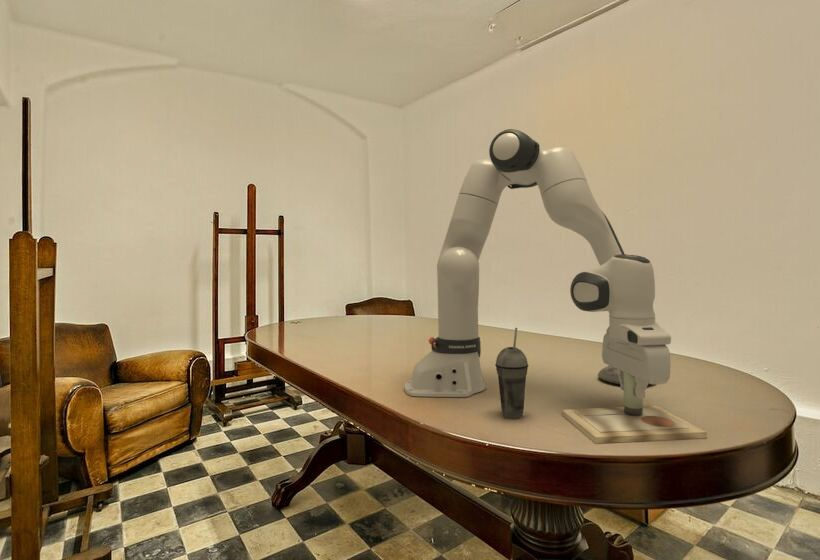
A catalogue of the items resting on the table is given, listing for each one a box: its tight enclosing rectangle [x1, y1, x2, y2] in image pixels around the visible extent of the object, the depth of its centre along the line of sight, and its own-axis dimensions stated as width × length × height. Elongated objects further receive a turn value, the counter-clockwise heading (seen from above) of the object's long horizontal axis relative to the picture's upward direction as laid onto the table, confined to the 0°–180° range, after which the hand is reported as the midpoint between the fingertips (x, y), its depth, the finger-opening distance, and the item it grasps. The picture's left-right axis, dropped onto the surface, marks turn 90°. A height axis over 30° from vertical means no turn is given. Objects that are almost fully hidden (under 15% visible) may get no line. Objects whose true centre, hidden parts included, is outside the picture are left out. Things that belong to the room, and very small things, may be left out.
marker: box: [623, 372, 644, 416], centre depth 96 cm, size 4×4×11 cm
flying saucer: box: [597, 365, 620, 385], centre depth 127 cm, size 15×15×6 cm
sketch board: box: [561, 405, 708, 444], centre depth 93 cm, size 22×16×2 cm
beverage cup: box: [495, 327, 529, 420], centre depth 100 cm, size 7×7×20 cm
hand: (632, 394), depth 96 cm, fingers closed on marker, 4 cm apart
